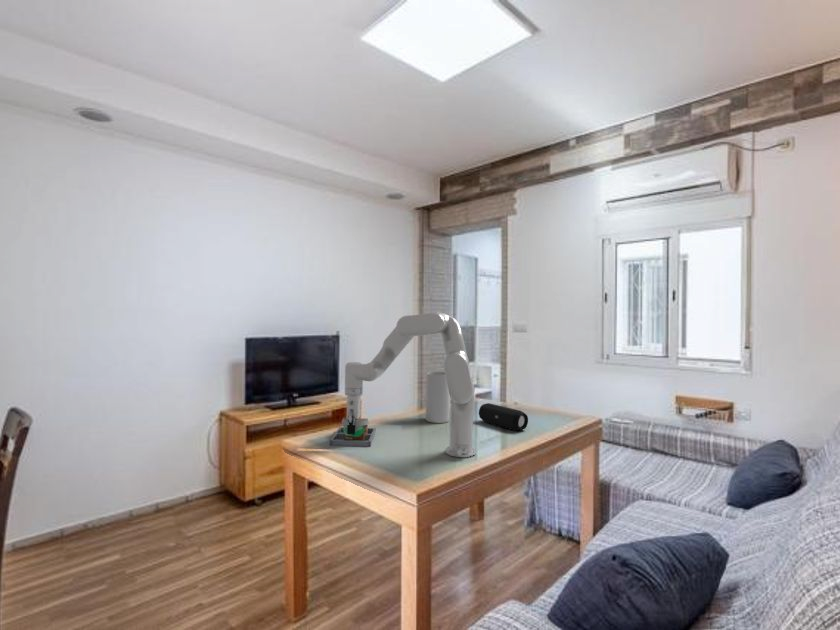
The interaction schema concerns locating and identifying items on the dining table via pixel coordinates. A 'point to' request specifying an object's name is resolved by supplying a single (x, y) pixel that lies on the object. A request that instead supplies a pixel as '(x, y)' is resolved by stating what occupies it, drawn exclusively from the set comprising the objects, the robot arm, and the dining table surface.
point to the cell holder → (339, 440)
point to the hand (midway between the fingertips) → (353, 431)
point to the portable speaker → (503, 416)
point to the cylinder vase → (437, 398)
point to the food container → (356, 430)
